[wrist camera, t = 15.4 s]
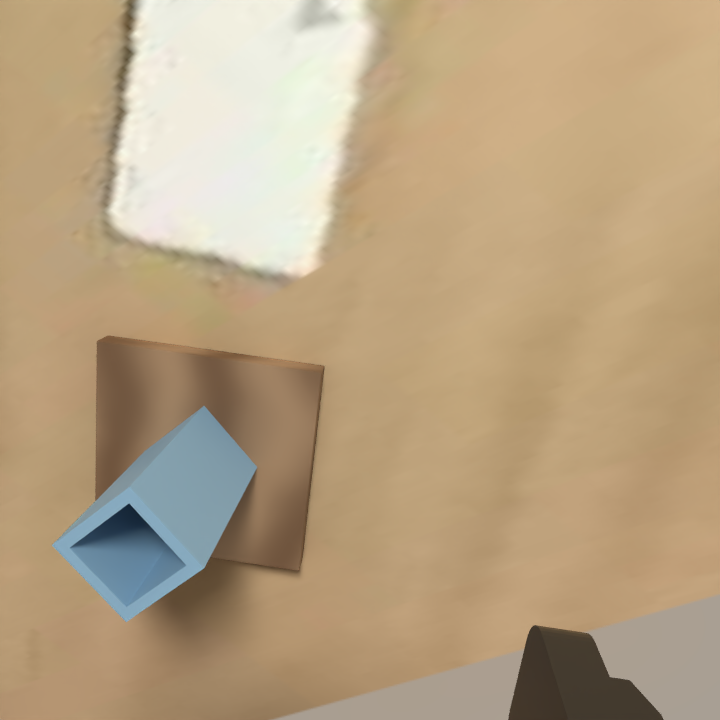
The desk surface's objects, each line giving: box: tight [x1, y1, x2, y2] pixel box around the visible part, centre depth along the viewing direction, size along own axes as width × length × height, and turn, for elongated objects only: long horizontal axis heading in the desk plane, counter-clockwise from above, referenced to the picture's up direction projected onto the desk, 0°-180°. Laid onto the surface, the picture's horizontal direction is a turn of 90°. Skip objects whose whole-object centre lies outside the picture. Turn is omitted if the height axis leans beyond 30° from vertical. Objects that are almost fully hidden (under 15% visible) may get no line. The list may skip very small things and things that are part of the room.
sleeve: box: [52, 406, 257, 622], centre depth 35 cm, size 5×5×11 cm
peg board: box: [95, 336, 324, 571], centre depth 38 cm, size 14×14×8 cm
